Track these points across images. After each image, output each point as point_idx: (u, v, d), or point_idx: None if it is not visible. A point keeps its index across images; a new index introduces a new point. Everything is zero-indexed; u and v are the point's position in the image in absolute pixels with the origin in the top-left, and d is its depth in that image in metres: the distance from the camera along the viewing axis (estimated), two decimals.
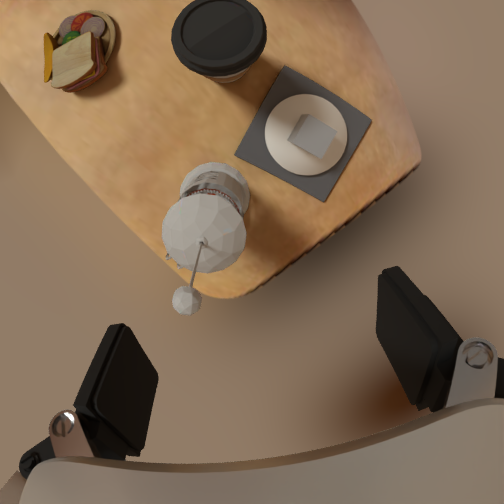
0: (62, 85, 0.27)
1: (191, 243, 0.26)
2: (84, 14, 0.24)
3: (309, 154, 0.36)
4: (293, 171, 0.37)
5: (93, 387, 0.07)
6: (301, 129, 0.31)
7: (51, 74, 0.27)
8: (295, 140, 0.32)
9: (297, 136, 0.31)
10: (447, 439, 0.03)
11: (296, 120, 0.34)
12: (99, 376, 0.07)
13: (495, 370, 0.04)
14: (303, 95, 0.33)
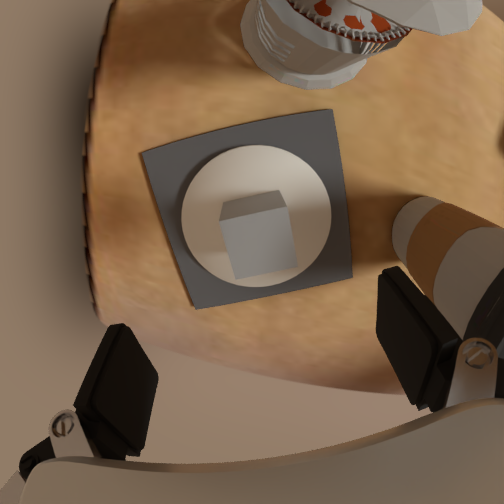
0: None
1: None
2: None
3: (229, 198, 0.20)
4: (228, 153, 0.19)
5: (93, 387, 0.07)
6: (290, 237, 0.17)
7: None
8: (285, 213, 0.17)
9: (287, 222, 0.17)
10: (447, 439, 0.03)
11: None
12: (99, 376, 0.07)
13: (495, 370, 0.04)
14: (305, 265, 0.23)
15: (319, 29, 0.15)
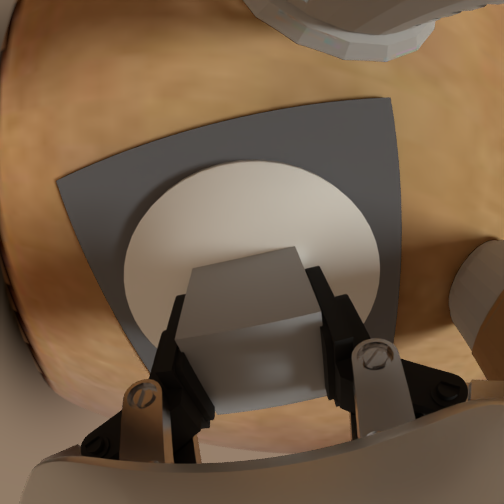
0: None
1: None
2: None
3: (202, 261, 0.11)
4: (198, 179, 0.10)
5: (175, 352, 0.08)
6: (321, 360, 0.08)
7: None
8: (316, 324, 0.07)
9: (318, 338, 0.08)
10: (447, 439, 0.03)
11: None
12: None
13: (400, 364, 0.06)
14: None
15: None
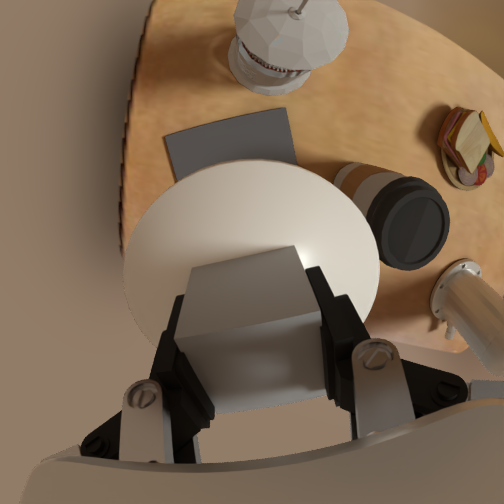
0: (469, 116, 0.26)
1: (306, 6, 0.13)
2: (481, 182, 0.33)
3: (202, 261, 0.11)
4: (197, 179, 0.10)
5: (175, 352, 0.08)
6: (320, 359, 0.08)
7: (480, 119, 0.27)
8: (315, 323, 0.07)
9: (318, 337, 0.08)
10: (447, 439, 0.03)
11: None
12: None
13: (400, 364, 0.06)
14: None
15: None
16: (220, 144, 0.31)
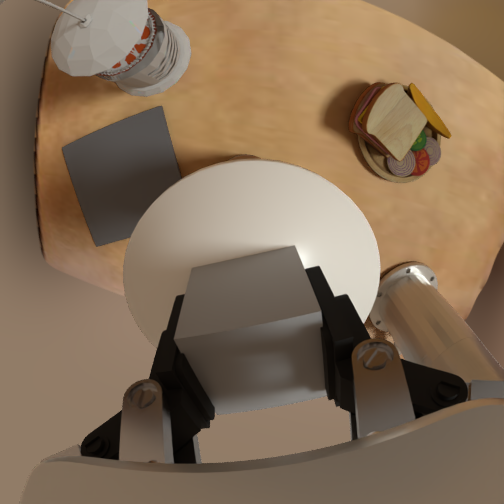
0: (386, 90, 0.24)
1: (95, 10, 0.11)
2: (421, 172, 0.31)
3: (202, 261, 0.11)
4: (197, 178, 0.10)
5: (175, 351, 0.08)
6: (321, 360, 0.08)
7: (410, 94, 0.26)
8: (316, 324, 0.07)
9: (318, 337, 0.08)
10: (447, 439, 0.03)
11: None
12: None
13: (400, 364, 0.06)
14: None
15: (150, 56, 0.24)
16: (105, 149, 0.29)
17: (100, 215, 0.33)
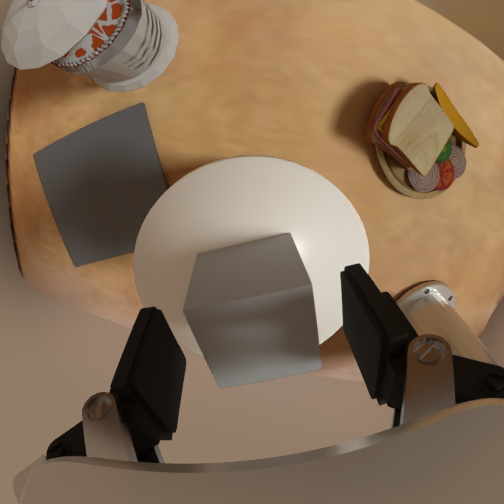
0: (410, 92, 0.19)
1: None
2: (445, 186, 0.26)
3: (206, 247, 0.12)
4: (203, 172, 0.11)
5: (130, 367, 0.07)
6: (313, 331, 0.09)
7: (435, 96, 0.21)
8: (308, 296, 0.09)
9: (310, 309, 0.09)
10: (447, 439, 0.03)
11: None
12: (136, 356, 0.08)
13: (451, 363, 0.05)
14: (325, 336, 0.15)
15: None
16: (79, 156, 0.24)
17: (77, 232, 0.27)
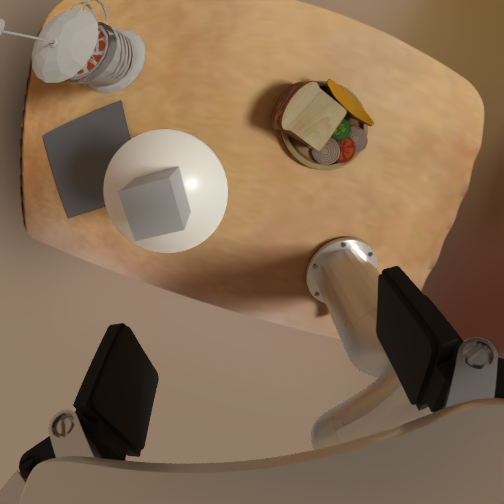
0: (300, 90, 0.30)
1: (60, 34, 0.16)
2: (347, 159, 0.37)
3: (138, 175, 0.22)
4: (137, 138, 0.21)
5: (92, 387, 0.07)
6: (174, 203, 0.20)
7: (329, 89, 0.31)
8: (168, 183, 0.19)
9: (170, 190, 0.19)
10: (447, 439, 0.03)
11: (189, 198, 0.24)
12: (99, 376, 0.07)
13: (495, 370, 0.04)
14: (208, 233, 0.25)
15: (112, 60, 0.28)
16: (76, 137, 0.33)
17: (71, 191, 0.37)
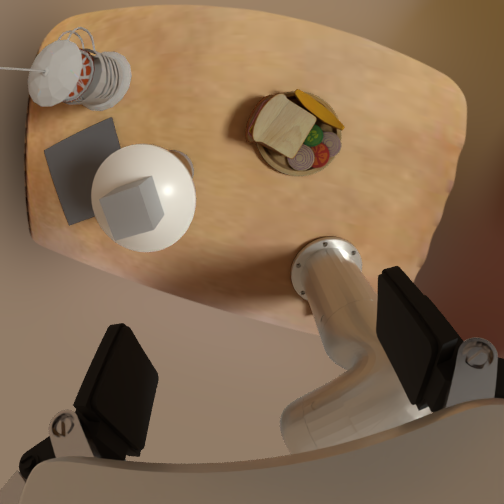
0: (268, 102, 0.33)
1: (50, 64, 0.19)
2: (322, 163, 0.40)
3: (119, 184, 0.25)
4: (116, 152, 0.24)
5: (92, 387, 0.07)
6: (144, 207, 0.23)
7: (297, 99, 0.34)
8: (138, 191, 0.22)
9: (140, 197, 0.22)
10: (447, 439, 0.03)
11: (163, 203, 0.27)
12: (99, 376, 0.07)
13: (495, 370, 0.04)
14: (181, 234, 0.28)
15: None
16: (73, 151, 0.37)
17: (71, 200, 0.41)
